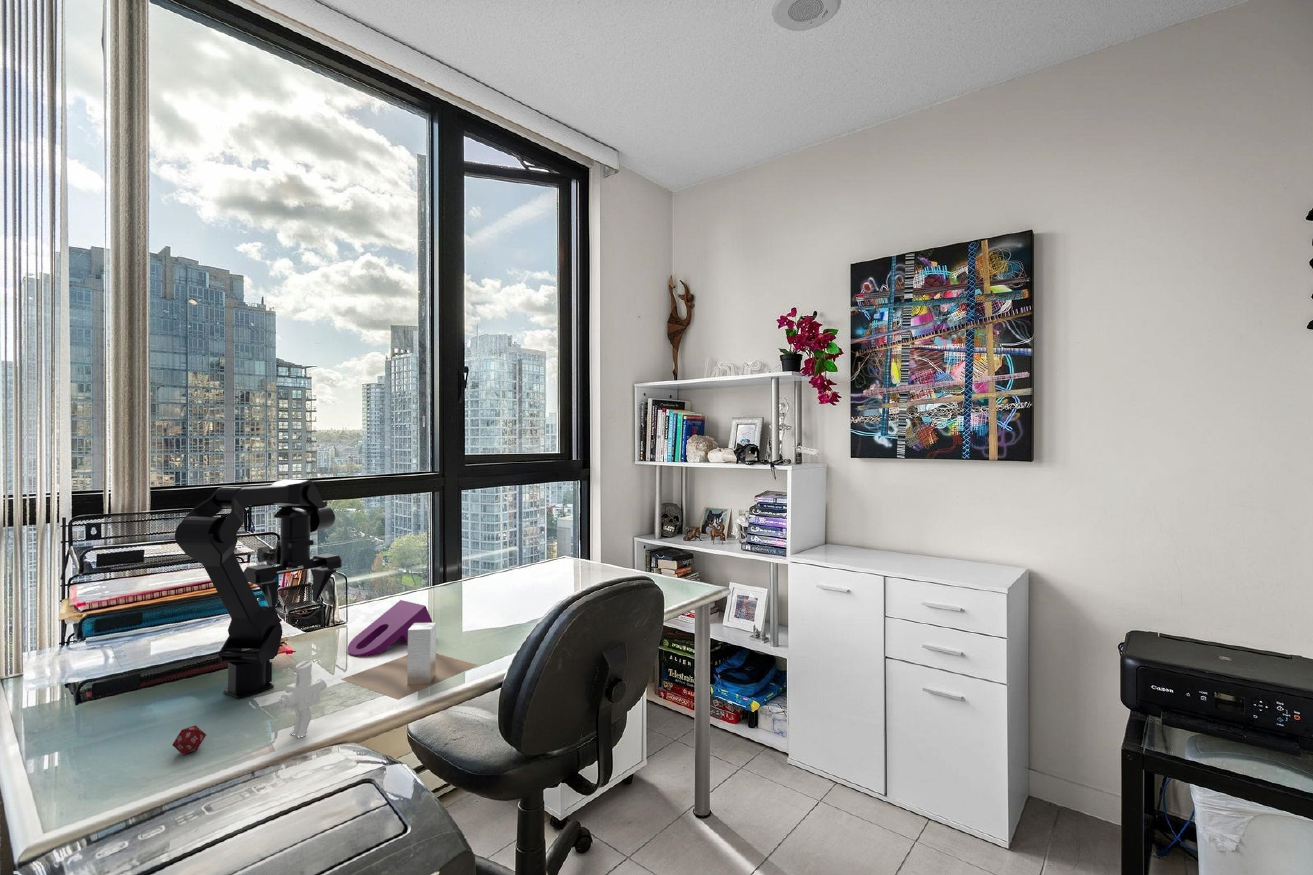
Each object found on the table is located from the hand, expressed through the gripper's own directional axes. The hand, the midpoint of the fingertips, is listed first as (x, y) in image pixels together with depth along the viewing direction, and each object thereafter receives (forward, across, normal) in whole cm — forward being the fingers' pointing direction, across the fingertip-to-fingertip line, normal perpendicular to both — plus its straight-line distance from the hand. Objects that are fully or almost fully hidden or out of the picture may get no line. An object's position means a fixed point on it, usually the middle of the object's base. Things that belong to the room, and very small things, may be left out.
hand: (294, 606), depth 132 cm
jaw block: (+12, -8, +33) cm, 36 cm away
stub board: (+13, -9, +28) cm, 32 cm away
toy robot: (+13, +16, +32) cm, 38 cm away
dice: (+13, +29, +23) cm, 39 cm away
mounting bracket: (+14, -17, +9) cm, 24 cm away
